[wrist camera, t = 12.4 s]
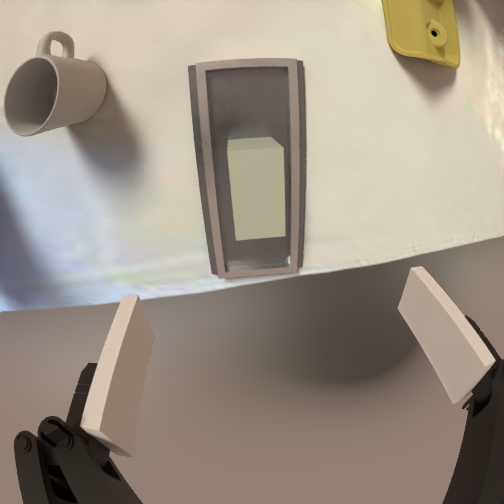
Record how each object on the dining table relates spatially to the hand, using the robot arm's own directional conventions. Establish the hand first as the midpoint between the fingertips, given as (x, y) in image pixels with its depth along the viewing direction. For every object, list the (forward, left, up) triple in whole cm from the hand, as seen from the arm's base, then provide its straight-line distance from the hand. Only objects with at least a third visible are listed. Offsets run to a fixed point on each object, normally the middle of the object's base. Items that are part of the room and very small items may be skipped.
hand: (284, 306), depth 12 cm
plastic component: (+25, +26, -25) cm, 44 cm away
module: (0, 0, -23) cm, 23 cm away
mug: (-21, +16, -24) cm, 36 cm away
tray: (0, 0, -24) cm, 24 cm away
